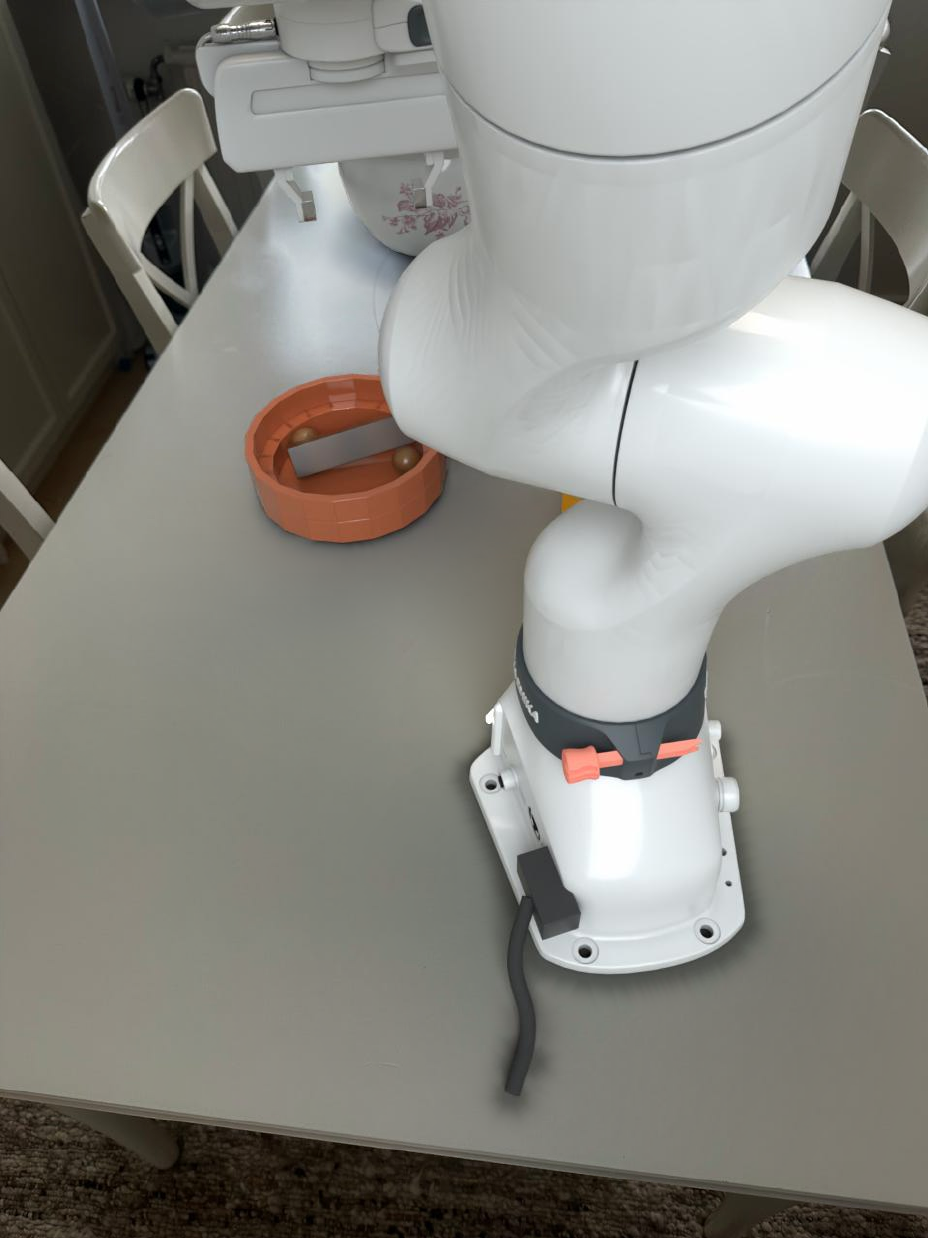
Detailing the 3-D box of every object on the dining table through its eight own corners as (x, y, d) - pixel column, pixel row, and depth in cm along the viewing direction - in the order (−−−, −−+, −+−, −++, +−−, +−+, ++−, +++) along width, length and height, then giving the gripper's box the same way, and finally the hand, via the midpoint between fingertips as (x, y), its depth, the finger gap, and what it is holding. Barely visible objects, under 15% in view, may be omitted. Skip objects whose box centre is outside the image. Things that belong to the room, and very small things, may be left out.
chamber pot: (313, 279, 111) (280, 102, 95) (366, 182, 128) (346, 18, 112) (530, 292, 107) (534, 109, 91) (555, 190, 124) (562, 21, 108)
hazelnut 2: (419, 484, 85) (430, 461, 83) (391, 481, 83) (402, 457, 81) (411, 464, 87) (421, 440, 85) (383, 461, 85) (393, 437, 83)
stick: (297, 473, 86) (297, 479, 83) (287, 444, 85) (286, 448, 82) (412, 437, 87) (416, 441, 84) (403, 408, 86) (407, 411, 83)
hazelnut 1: (330, 433, 86) (305, 417, 87) (314, 445, 84) (288, 428, 84) (322, 455, 88) (298, 439, 89) (306, 468, 86) (281, 451, 86)
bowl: (458, 534, 81) (455, 485, 76) (258, 560, 79) (243, 513, 75) (434, 412, 92) (430, 364, 88) (259, 433, 91) (246, 386, 87)
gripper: (185, 42, 57) (236, 245, 68) (491, 12, 58) (494, 215, 69) (189, 12, 61) (237, 208, 71) (475, -16, 62) (480, 180, 73)
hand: (365, 211), depth 70 cm, fingers open, 8 cm apart
